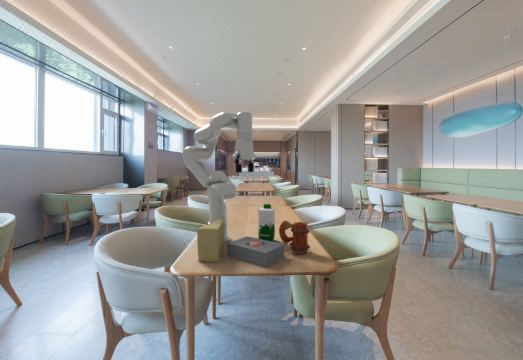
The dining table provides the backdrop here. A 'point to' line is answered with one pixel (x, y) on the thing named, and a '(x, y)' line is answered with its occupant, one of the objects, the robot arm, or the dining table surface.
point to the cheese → (211, 241)
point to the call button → (255, 243)
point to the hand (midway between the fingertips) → (245, 172)
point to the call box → (256, 251)
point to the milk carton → (266, 223)
